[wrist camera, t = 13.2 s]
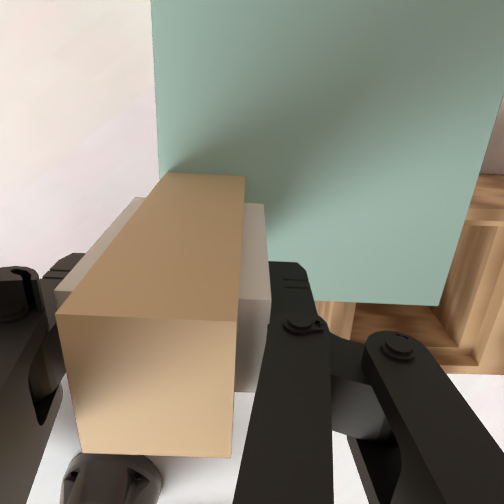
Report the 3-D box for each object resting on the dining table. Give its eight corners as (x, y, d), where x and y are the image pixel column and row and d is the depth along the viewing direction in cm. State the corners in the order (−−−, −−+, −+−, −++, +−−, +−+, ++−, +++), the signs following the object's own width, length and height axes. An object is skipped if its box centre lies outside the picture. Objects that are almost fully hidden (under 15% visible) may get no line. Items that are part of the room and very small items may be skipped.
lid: (171, 277, 20) (82, 514, 9) (156, -71, 14) (-140, -494, 3) (425, 289, 20) (612, 531, 10) (521, -47, 14) (1297, -364, 4)
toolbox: (307, 303, 49) (333, 410, 34) (323, 168, 42) (365, 227, 26) (499, 308, 50) (611, 417, 34) (548, 176, 42) (718, 239, 27)
